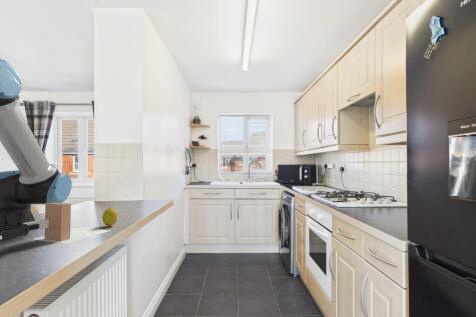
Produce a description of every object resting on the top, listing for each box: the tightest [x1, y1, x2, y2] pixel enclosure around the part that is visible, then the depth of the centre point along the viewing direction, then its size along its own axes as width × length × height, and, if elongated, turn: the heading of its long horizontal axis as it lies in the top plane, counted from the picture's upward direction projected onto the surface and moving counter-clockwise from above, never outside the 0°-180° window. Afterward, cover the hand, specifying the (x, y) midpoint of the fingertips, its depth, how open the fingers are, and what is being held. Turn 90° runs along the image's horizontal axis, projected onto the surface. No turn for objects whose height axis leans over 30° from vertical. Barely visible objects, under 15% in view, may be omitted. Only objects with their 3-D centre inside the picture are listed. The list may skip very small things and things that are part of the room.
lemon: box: [102, 207, 118, 228], centre depth 104 cm, size 6×6×8 cm
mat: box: [33, 226, 112, 245], centre depth 91 cm, size 16×18×1 cm
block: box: [44, 202, 72, 241], centre depth 86 cm, size 8×3×12 cm, turn 70°
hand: (46, 223), depth 82 cm, fingers closed
